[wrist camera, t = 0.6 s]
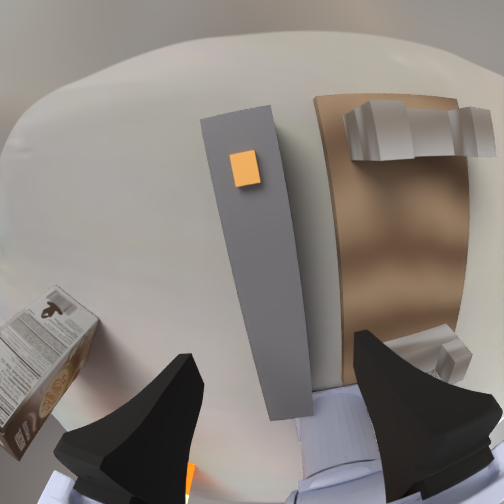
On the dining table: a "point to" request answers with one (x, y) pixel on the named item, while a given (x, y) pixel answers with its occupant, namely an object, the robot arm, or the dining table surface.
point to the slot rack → (402, 220)
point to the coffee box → (40, 363)
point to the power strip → (262, 253)
